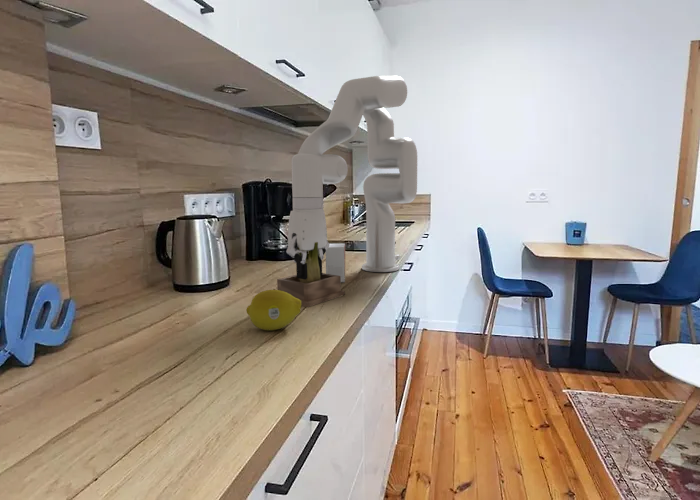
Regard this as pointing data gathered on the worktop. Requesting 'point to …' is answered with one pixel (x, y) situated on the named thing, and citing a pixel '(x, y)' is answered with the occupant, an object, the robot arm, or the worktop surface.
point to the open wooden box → (312, 289)
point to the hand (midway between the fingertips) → (309, 275)
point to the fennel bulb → (312, 265)
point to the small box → (336, 260)
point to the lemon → (273, 309)
